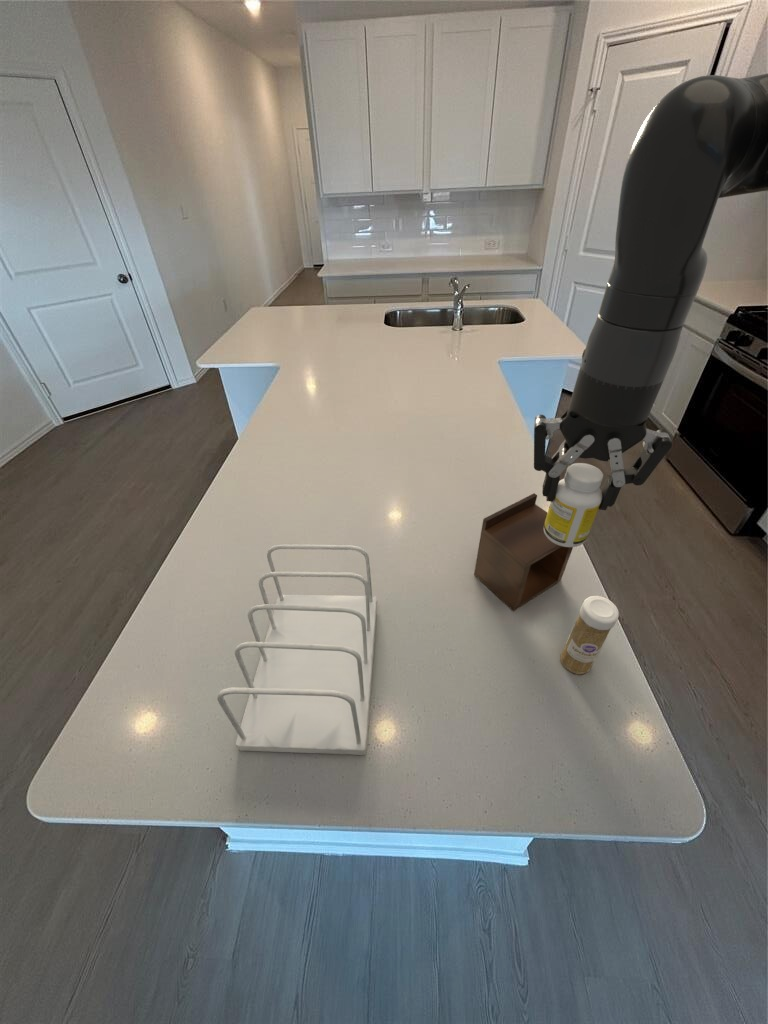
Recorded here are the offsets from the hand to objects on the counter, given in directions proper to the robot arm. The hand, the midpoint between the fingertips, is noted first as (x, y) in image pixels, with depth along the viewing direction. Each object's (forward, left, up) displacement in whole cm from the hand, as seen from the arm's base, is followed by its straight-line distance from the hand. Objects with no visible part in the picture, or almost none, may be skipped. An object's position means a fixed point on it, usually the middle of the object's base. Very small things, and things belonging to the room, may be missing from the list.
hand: (575, 501), depth 53 cm
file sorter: (+14, +32, -28) cm, 45 cm away
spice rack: (+10, -7, -28) cm, 30 cm away
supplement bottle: (0, 0, -6) cm, 6 cm away
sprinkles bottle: (-7, -2, -28) cm, 29 cm away
